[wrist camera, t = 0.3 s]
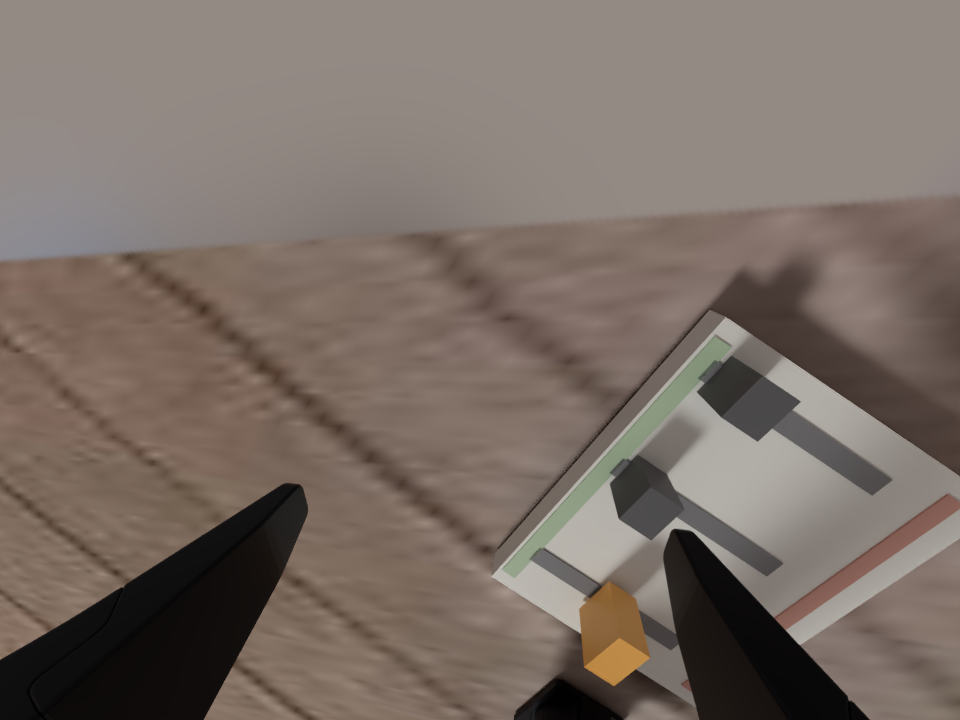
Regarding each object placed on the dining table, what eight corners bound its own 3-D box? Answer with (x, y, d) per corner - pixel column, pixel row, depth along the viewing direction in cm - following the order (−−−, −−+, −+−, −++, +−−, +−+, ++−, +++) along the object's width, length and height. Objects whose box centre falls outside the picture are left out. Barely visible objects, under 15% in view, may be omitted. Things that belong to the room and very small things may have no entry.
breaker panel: (690, 679, 28) (719, 767, 24) (495, 553, 28) (484, 617, 23) (965, 483, 21) (1084, 553, 17) (709, 309, 21) (757, 331, 16)
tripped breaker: (604, 625, 25) (613, 686, 22) (579, 608, 25) (584, 667, 22) (635, 598, 24) (650, 657, 21) (608, 581, 24) (619, 637, 21)
